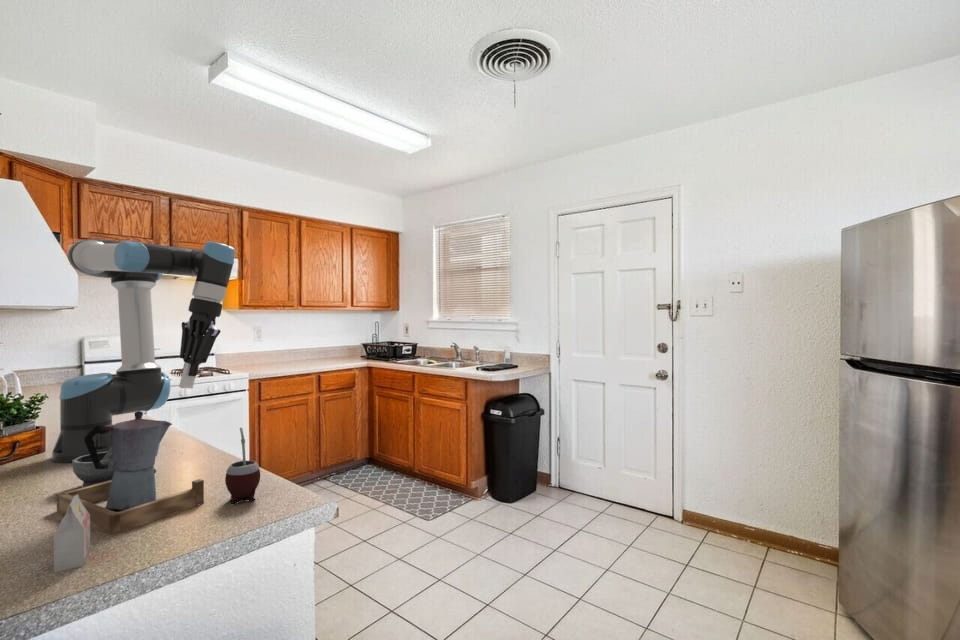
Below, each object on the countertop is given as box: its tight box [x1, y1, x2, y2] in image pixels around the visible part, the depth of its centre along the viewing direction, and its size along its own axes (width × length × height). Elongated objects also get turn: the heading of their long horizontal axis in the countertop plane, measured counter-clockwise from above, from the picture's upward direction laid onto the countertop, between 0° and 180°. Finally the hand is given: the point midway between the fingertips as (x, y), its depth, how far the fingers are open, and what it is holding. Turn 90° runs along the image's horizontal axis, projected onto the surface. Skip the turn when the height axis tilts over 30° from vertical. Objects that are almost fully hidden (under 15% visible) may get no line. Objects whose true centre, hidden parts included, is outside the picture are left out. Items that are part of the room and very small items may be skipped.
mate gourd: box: [224, 427, 261, 505], centre depth 106 cm, size 8×8×15 cm
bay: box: [56, 479, 205, 536], centre depth 101 cm, size 17×23×5 cm
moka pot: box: [84, 411, 173, 511], centre depth 102 cm, size 10×15×20 cm, turn 141°
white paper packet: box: [53, 494, 91, 573], centre depth 79 cm, size 4×7×10 cm, turn 33°
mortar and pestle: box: [71, 447, 115, 488], centre depth 114 cm, size 11×9×12 cm
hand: (185, 387), depth 123 cm, fingers closed
